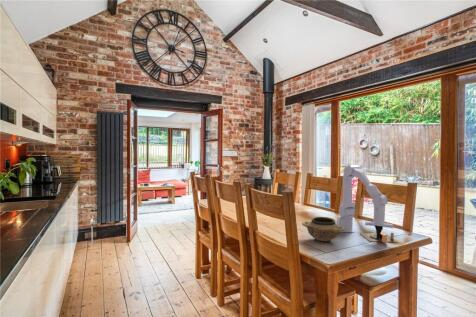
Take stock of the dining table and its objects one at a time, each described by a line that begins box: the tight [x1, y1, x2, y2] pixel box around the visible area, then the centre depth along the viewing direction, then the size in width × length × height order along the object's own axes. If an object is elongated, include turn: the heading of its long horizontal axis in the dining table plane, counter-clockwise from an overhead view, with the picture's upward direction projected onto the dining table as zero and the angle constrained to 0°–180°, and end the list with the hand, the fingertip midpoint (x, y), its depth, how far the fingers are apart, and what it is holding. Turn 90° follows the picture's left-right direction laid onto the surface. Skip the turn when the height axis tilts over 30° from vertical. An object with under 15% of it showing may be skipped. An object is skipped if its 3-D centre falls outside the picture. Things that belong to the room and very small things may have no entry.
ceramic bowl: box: [301, 216, 345, 245], centre depth 160 cm, size 24×18×15 cm
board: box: [359, 230, 399, 244], centre depth 168 cm, size 16×15×6 cm
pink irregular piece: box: [370, 231, 388, 244], centre depth 165 cm, size 15×9×4 cm, turn 171°
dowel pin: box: [390, 231, 395, 240], centre depth 163 cm, size 2×2×4 cm
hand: (378, 238), depth 161 cm, fingers closed
